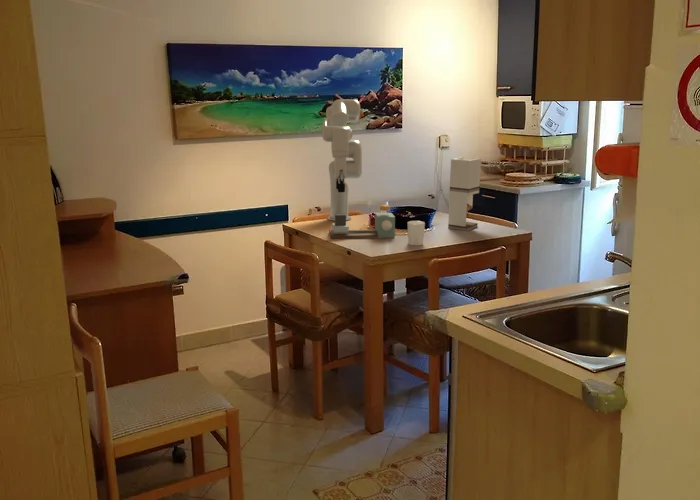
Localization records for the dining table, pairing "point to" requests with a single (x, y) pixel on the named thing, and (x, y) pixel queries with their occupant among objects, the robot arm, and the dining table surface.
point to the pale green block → (385, 225)
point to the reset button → (384, 207)
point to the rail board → (354, 234)
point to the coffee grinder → (463, 191)
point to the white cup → (416, 232)
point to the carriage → (340, 224)
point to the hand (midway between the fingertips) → (340, 190)
